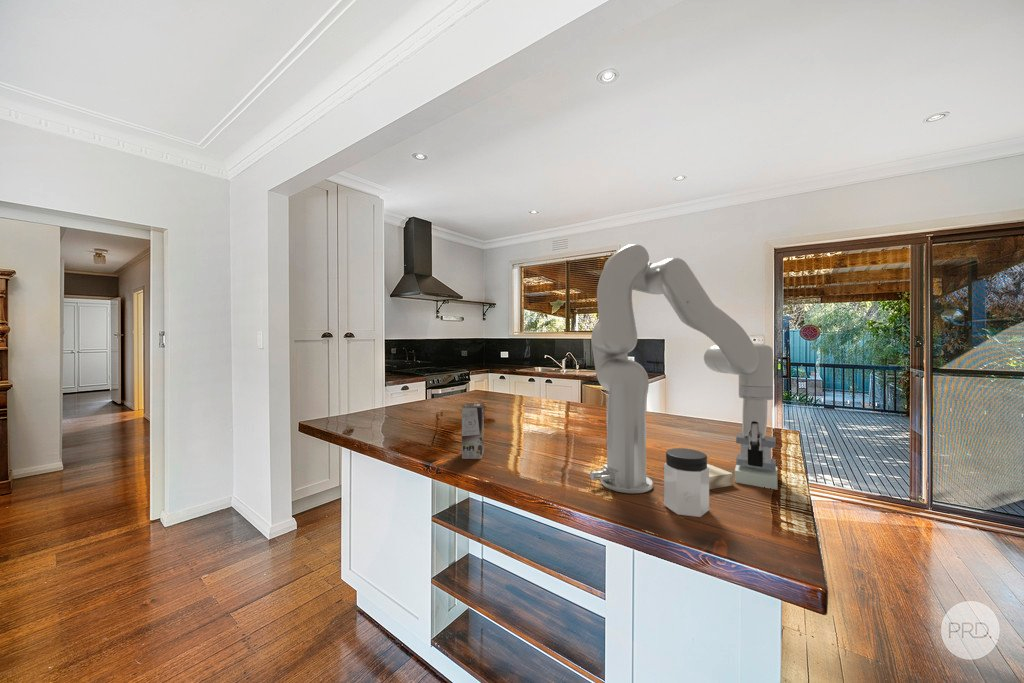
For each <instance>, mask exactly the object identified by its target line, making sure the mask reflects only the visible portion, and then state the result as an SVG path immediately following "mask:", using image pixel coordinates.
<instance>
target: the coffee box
mask: <svg viewBox="0 0 1024 683" xmlns="http://www.w3.org/2000/svg"><path fill="white" fill-rule="evenodd" d="M484 403H485V402H473V403H472V402H471V403H464V404H463V406H461V459H463V460H467V459H468V460H481V459H482V458H483V455H484V451H485V428H484V426H485V424H484V423H485V422H484V420H485V418H484V416H485V415H484V414H485V411H484V409H485V408H484Z"/></svg>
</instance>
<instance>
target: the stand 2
mask: <svg viewBox="0 0 1024 683" xmlns="http://www.w3.org/2000/svg"><path fill="white" fill-rule="evenodd" d="M734 483H737V484H743V485H747V486H748V485H749V486H755V487H760V488H764V487H765V488H766V489H770V488H771V489H770V490H778V466H776V471H773V470H767V469H760V468H754V467H747V466H741V465H735V468H734Z"/></svg>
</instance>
